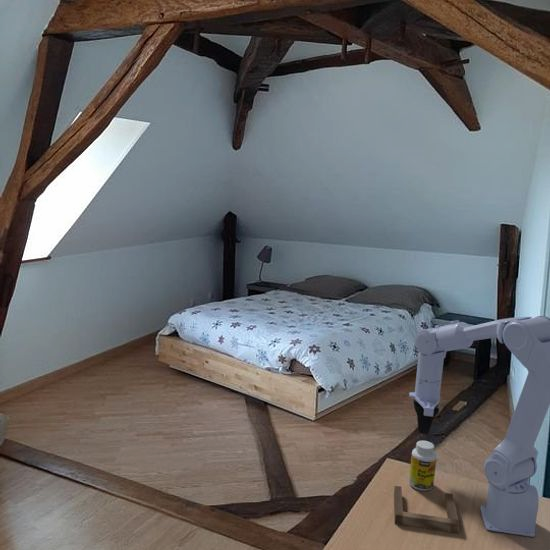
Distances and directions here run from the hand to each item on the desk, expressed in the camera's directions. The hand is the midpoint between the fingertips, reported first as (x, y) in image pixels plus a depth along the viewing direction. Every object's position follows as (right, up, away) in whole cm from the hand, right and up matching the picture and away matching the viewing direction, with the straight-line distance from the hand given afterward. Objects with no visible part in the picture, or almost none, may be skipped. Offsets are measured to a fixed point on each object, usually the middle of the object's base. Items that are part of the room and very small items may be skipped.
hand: (423, 431), depth 137 cm
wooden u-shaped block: (-4, -13, -14) cm, 20 cm away
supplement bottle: (-2, -11, -5) cm, 12 cm away
